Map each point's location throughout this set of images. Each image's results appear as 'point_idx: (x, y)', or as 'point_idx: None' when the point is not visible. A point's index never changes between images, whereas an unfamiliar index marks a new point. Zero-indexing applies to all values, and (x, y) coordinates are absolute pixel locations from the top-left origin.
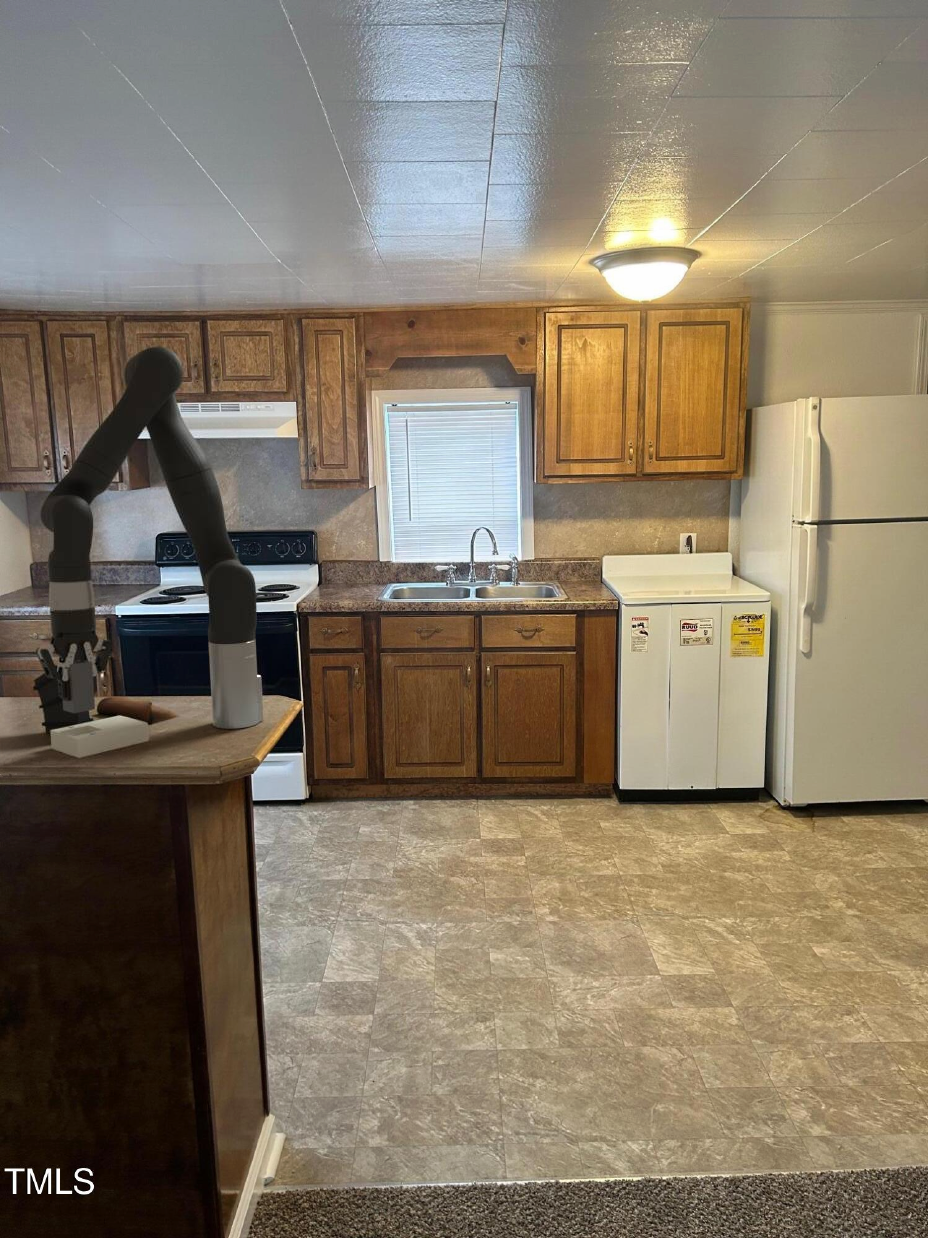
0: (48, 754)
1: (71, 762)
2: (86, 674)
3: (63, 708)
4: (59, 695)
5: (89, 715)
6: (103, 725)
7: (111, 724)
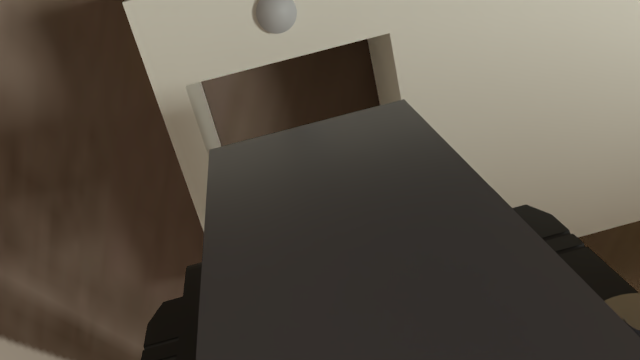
0: (109, 105)
1: None
2: None
3: (210, 158)
4: (154, 328)
5: None
6: (464, 106)
7: (510, 114)
